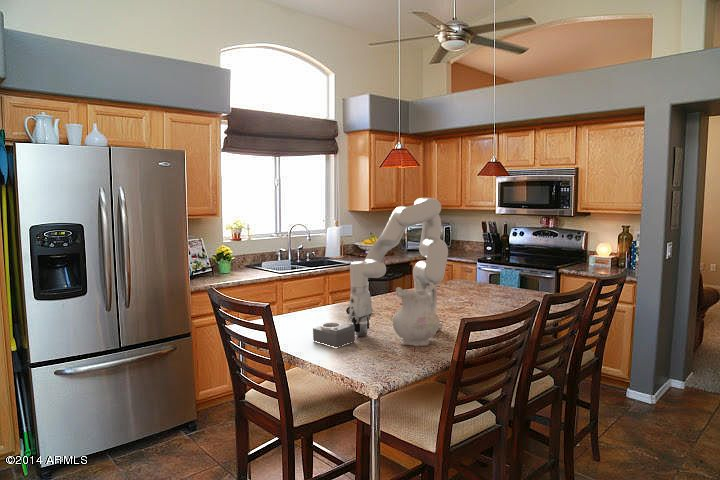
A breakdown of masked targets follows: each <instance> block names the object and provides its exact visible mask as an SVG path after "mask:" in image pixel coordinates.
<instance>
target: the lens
mask: <svg viewBox="0 0 720 480" xmlns="http://www.w3.org/2000/svg"><path fill="white" fill-rule="evenodd" d="M355 320H356V317H355ZM358 323H359V325H360V332H359V333H358V332H355V336H357V337H365V336H368V335H369V334H368V332H369V331H368V329H367V316H366V315H365V316H363V317H359V322H358Z"/></svg>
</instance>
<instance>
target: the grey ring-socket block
mask: <svg viewBox="0 0 720 480" xmlns="http://www.w3.org/2000/svg"><path fill="white" fill-rule="evenodd" d="M355 337H356V332H355V325H353V323H345V324H342V323H340V322H337V321H336V322H333V321H331V322H330V321H329V322H324V323H322V324H321V325H320V326H317V327H313V328H312V341H313V340H314V341H317V342H320V343H324V344H327V345H330V346H334V347H339V346H342V345H344V344H347V343H351V342H354V341H355V342H356V338H355ZM355 342H354V343H355ZM351 344H352V343H351Z"/></svg>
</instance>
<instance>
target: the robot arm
mask: <svg viewBox="0 0 720 480" xmlns="http://www.w3.org/2000/svg"><path fill="white" fill-rule="evenodd" d="M441 211H442V204H441V202H440V201H439V199H436V198H434V197H419V198H417V199H416V200H414V204H412V205H409V206H397V207H396V208H395V209H394V210H393V211H392V213H391V215H390V216H389V219H388V221H387V222H386V225H385V227H384V229H383V231H382V232H381V234H380V236H379V237H378V238H377V240H375V242H374V243H373V244H372V246H371V247H370V249H369V250H368V252H367V255H366V257H365V258H364V260H359V261H358V260H357V261H352V262H350V264H349V274H350V275H349V278H350V279H349V280H350V291H349V292H350V296H349V306H350V313H349V314H348V316H347V318H348V320H349V321H351V324H352V325H355V333H356V332H358V333H359V332H360V325H359V323H358V322H359V317H363V316H365V315H366V316H367V330H369V329H370V319H371V316H372V313H373V312H374V309H373V303H372V297H371V293H370V291H369V281H368V280H369V279H371V278H372V279H374V278H375V279H379V278H382V277H384V276H385V274H386V272H387V266H386V264H385V263H384V262H382V260H383V259H384V257H385V255H386V254H387V253H388V252H390V250H391V249H393V248H395V247H397V245H399V243H400V241H401V239H402V237H403V235H404V233H405V231H406V230H407V227H413V226H417V225H419V224H421V225H422V226H421V227H422V228H421V234H420V236H421V237H420V241H419V248H418V251H419V253H420V255H421V256H422V257H424V258H426V260H424V259H423V260H419V261H417V262H416V263H415V265H414V266H413V269H412V277H413V282H414V283H413V284H414V291H417V290H425V289H426V288H427V283H428V282H430V281H431V282H433V284H434V285H435V286H437V285H439V284H440V283H442V281H443V279H444V278H445V273H446V268H447V262H448V257H449V249H448V244H446V242H445V241H444V240H442V239H441V235H442V219H441V216H440V213H441ZM431 293H432V291H431ZM431 302H432V297H431V299H430V302H429V306H430V305H431ZM434 312H435V313H436V314H437V304H436V305H435V308H434ZM355 317H356V320H355ZM442 329H443V323H439V328H438V330H437V332H439V330H442Z"/></svg>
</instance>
